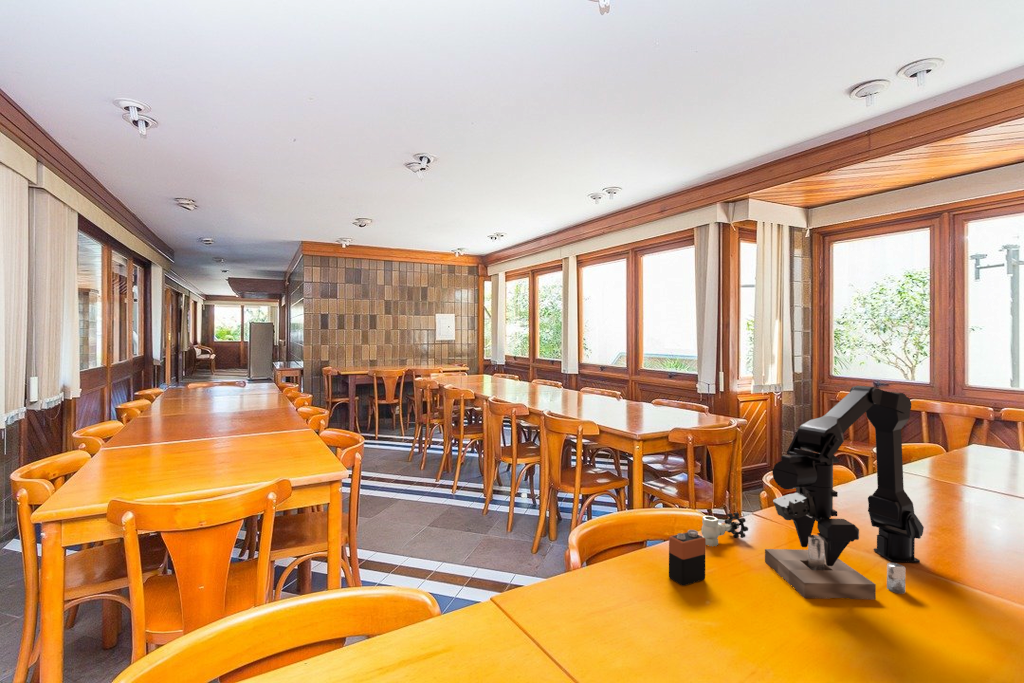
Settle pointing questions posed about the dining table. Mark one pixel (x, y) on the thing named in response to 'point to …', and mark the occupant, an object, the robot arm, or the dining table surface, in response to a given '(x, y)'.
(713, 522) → the valve
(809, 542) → the long pin
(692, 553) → the battery
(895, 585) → the short pin
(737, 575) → the dining table surface
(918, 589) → the dining table surface
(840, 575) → the hole plate
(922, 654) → the dining table surface
